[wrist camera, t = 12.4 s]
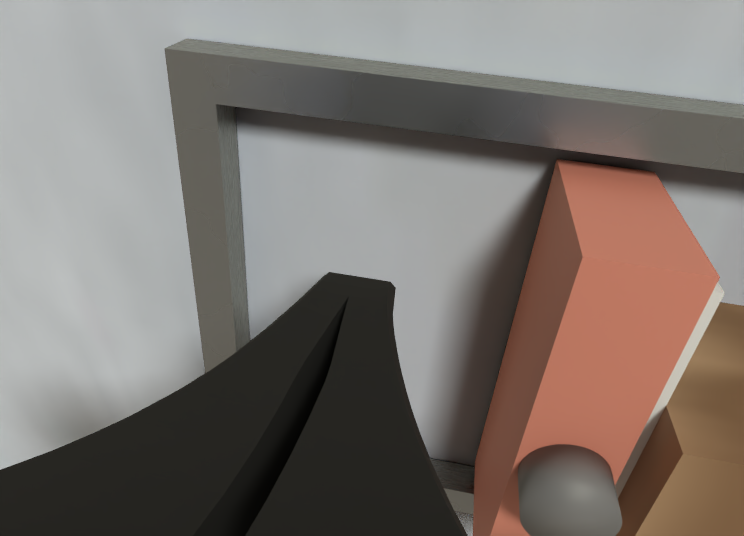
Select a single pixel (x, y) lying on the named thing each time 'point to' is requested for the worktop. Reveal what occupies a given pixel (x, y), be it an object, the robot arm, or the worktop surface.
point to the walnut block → (696, 445)
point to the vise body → (399, 110)
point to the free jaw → (590, 353)
